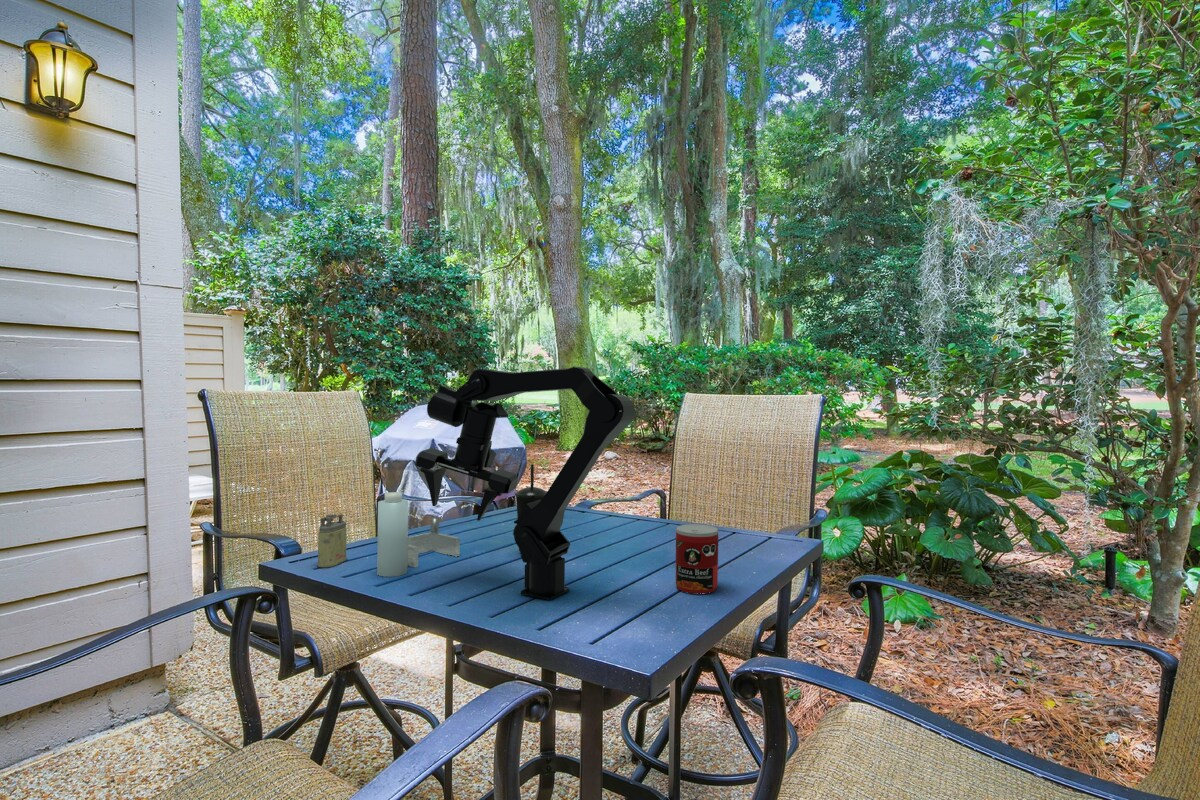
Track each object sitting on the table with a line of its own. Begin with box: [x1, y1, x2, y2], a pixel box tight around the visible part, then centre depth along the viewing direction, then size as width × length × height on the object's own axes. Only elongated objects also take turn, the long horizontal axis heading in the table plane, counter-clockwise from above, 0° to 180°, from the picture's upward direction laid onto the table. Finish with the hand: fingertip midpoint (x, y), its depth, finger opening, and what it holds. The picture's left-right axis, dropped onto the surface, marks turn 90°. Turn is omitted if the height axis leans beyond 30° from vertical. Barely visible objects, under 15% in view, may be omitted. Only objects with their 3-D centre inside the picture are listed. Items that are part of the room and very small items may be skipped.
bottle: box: [376, 491, 409, 578], centre depth 115 cm, size 6×6×16 cm
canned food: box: [675, 523, 719, 595], centre depth 107 cm, size 8×8×11 cm
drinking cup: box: [514, 463, 548, 519], centre depth 130 cm, size 8×8×20 cm
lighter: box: [317, 513, 348, 568], centre depth 121 cm, size 7×4×10 cm, turn 171°
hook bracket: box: [407, 517, 461, 569], centre depth 126 cm, size 10×12×7 cm
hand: (456, 512), depth 111 cm, fingers open, 9 cm apart
